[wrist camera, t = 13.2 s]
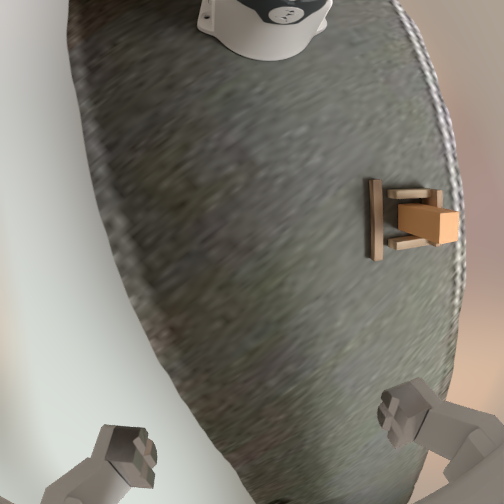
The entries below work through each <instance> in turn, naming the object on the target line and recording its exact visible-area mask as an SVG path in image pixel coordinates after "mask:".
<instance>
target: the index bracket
mask: <svg viewBox="0 0 504 504" xmlns="http://www.w3.org/2000/svg"><path fill="white" fill-rule="evenodd" d="M387 192H388V198H393V199H408V198H422V204H425V205H430V206H435V207H439V208H442V190H436V189H428V188H420V189H392V190H387ZM425 245H433V246H435V247H438V246H441V244H437V243H434V242H432V241H429V240H426V239H424V238H421V237H418V236H415V235H412V236H405V237H398V238H390V239H388V246H389V247H391V248H393V249H395V250H401V249H407V248H413V247H419V246H425Z"/></svg>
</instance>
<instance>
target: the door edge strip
mask: <svg viewBox="0 0 504 504" xmlns="http://www.w3.org/2000/svg"><path fill="white" fill-rule="evenodd" d="M369 189H370V212H371V259H372V260H373V261H378V260H383V198H382V180H378V179H376V180H369Z"/></svg>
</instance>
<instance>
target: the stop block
mask: <svg viewBox="0 0 504 504" xmlns="http://www.w3.org/2000/svg"><path fill="white" fill-rule="evenodd" d="M458 226H459V212H458V211H453V210H449V209H444V208H439V207H435V206H430V205H425V204H420V203H408V204H398V230H401V231H404V232H407V233H410V234H413V235H415V236H418V237H421V238H424V239H426V240H429V241H432V242H434V243H437V244H443V243H448V242H454V241H458Z"/></svg>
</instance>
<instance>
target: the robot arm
mask: <svg viewBox="0 0 504 504" xmlns="http://www.w3.org/2000/svg"><path fill="white" fill-rule="evenodd" d="M331 5H332V0H202V4H201V8H200V13H199V17H198V22H197V28H198V29H199V30H200V31H202V32H204V33H207V34H209V35H212V36H215V37H216V38H218V39H219V40H220V41H221V42H222V43H223V44H224V45H225V46H226V47H228V48H229V49H230V50H232V51H234V52H236V53H237V54H240V55H242V56H245V57H248V58H251V59H256V60H264V61H274V60H282V59H286V58H289V57H292V56H294V55H296V54H298V53H299V52H301V51H302V50H303V49H304V48H305V47H306V46H307V45H308V43H309V42H310V40H311V39H312V37H313V36H314V35H316V34H318V33H320V32H322V31H324V30H325V28H326V26H327V22H326V19H325V16H326V15H327V13H328V11H329V9H330V7H331ZM206 17H209V19H205V18H206ZM381 399H382V401H383V402H382V403H381V404H380V405H379V406H378V410H377V418H378V421H379V424H380V426H381V427H382V429H384V430H387V431H388V435H387V437H388V439H389V441H390V442H391V444H392V446H393V447H394V449H396V448H398V447H401V446H403V445H406V444H408V443H410V442H413V441H414V442H415V443H417V444H419V445H421V446H423V447H425V448H427V449H429V450H430V451H432V452H435V453H436V454H439V455H440V456H442V457H444V458H446V459H449V460H451V461H450V463H449V464H448V465H447V467H446V468H445V469H444V472H443V473H444V475H445V477H446V478H447V480H448V481H449V484H447V485H445V486H444V487H442V488H440V489H439V490H437V491H435V492H434V493H432V494H430V495H428V496H427V497H425V498H423V499H421V500H419V501H417V502H415V503H413V504H504V425H503V424H502V423H501V422H500V421H499V420H498V418H497V417H496V416H495V415H492V414H488V413H485V412H481V411H477V410H474V409H470V408H467V407H464V406H460V405H457V404H454V403H451V402H447V401H445V402H442V400H441V399H440V398H439V397H438V396H437V395H436V394H435V393H434V392H433V390H432V389H431V388H430V387H429V386H428V385H427V384H426V383H425V382H424V380H423V379H422V378H419V377H418V378H416V379H413V380H411V381H408V382H405V383H402V384H400V385H397V386H395V387H392V388H389V389H386V390H384V391H383V392H382V395H381ZM156 464H157V450H156V447H155V444H154V443H153V441H152V440H150V439H148V432H147V431H146V429H145V428H140V427H126V426H115V425H106V424H105V425H103V426H102V427H101V430H100V433H99V436H98V438H97V441H96V444H95V447H94V449H93V452H92V455H91V458H86V459H85V460H83V461H82V462H81V463H79V464H78V465H77V466H75V467H74V468H73V469H71V470H70V471H69V472H68V473H66V474H65V475H63V476H62V477H61V478H59V479H58V480H57V481H55V482H54V483H52V484H51V485H49V486H48V487H47V488H46V489H45V492H44V495H43V498H42V501H41V504H117V503H118V502H119V501H120V500H121V499H122V498H123V497H124V496H125V494H126V493H127V492H128V491H129V490H130V489H131V487H139V488H152V489H153V486H154V479H155V473H154V472H153V470H152V468H153V467H154V466H155V465H156ZM0 504H14V503H12V502H10V501H8V500H6V499H4V498H3V497H1V496H0Z"/></svg>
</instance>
